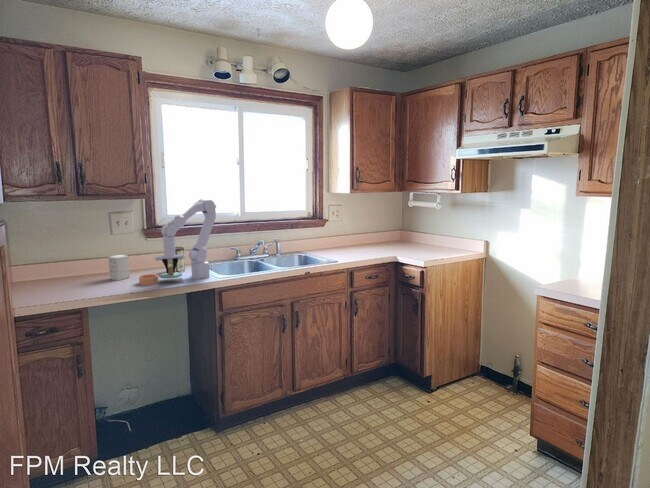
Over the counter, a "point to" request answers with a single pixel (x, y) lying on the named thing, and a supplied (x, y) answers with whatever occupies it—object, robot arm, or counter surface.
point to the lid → (170, 274)
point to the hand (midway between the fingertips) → (170, 272)
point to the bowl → (148, 279)
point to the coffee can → (180, 264)
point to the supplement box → (119, 267)
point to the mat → (170, 281)
